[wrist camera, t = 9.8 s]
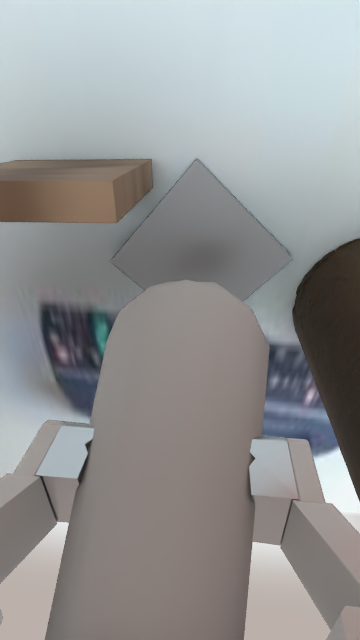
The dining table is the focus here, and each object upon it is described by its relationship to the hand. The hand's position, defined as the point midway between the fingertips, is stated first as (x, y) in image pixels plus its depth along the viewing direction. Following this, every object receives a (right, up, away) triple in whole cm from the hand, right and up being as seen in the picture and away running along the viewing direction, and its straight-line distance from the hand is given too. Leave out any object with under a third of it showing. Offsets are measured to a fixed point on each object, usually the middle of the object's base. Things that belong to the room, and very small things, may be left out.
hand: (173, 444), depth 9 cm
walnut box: (-5, +12, +11) cm, 17 cm away
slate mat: (+1, +7, +13) cm, 15 cm away
